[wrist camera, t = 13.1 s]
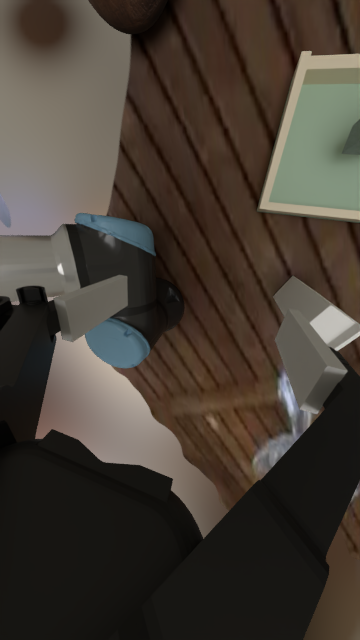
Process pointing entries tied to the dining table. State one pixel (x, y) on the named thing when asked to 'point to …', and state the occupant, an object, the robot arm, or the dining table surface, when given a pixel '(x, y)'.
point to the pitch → (317, 143)
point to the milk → (318, 313)
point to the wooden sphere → (129, 13)
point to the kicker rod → (353, 141)
